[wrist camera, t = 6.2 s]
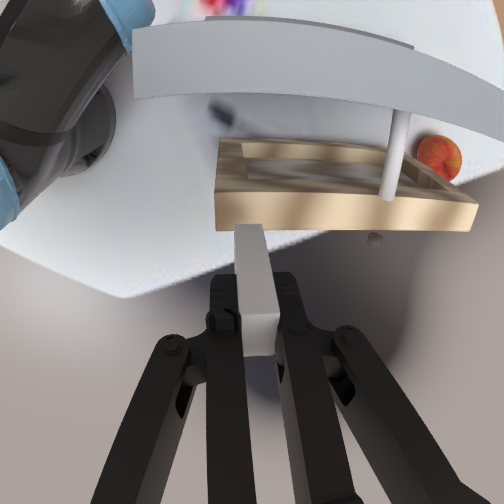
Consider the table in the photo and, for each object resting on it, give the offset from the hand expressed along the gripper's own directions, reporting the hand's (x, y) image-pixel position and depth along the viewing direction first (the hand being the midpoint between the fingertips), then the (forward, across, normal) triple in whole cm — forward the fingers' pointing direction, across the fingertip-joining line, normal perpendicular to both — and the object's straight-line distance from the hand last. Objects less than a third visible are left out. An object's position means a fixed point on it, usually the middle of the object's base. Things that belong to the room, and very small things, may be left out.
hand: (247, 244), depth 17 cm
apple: (+26, +30, +1) cm, 40 cm away
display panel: (+25, +10, +10) cm, 29 cm away
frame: (+20, +10, -1) cm, 23 cm away
